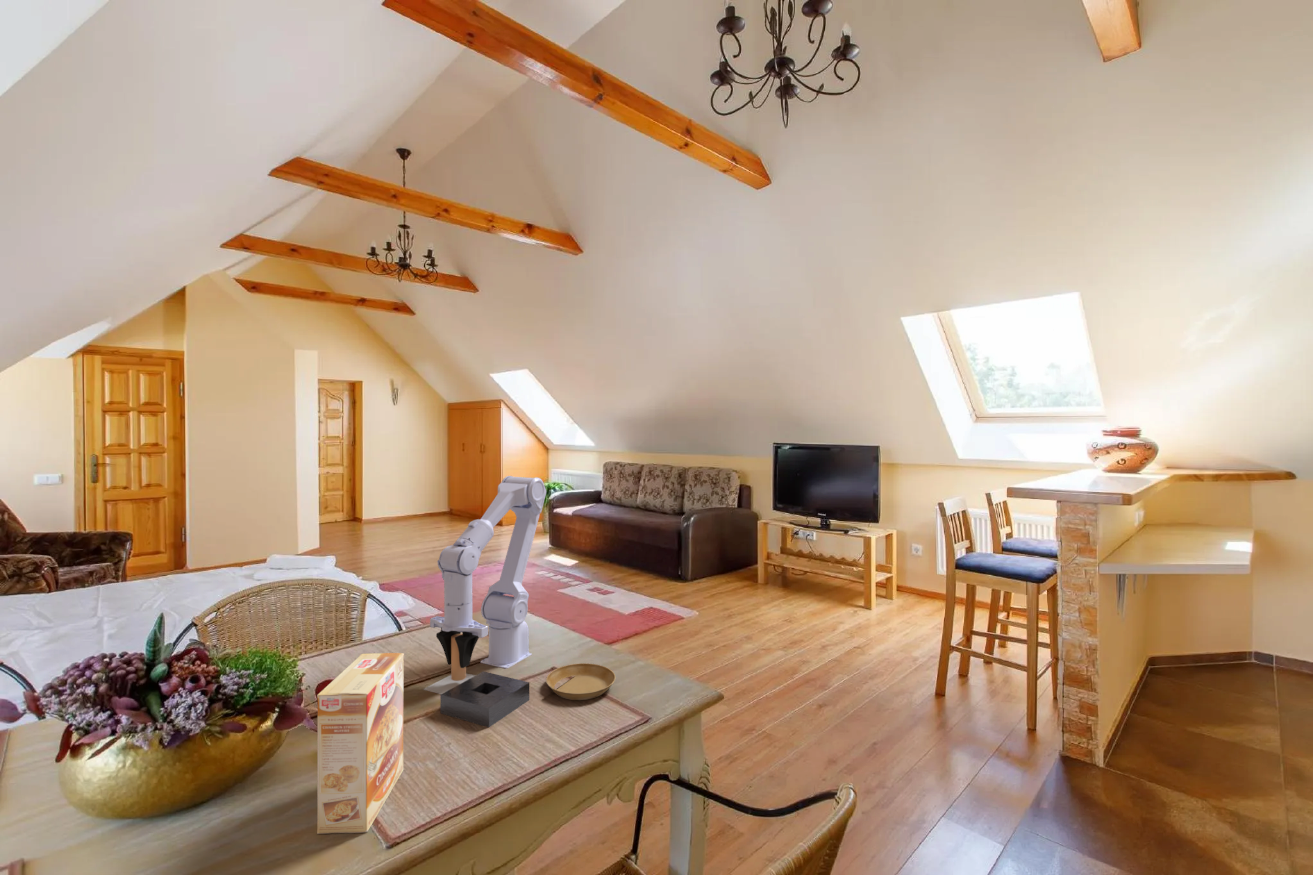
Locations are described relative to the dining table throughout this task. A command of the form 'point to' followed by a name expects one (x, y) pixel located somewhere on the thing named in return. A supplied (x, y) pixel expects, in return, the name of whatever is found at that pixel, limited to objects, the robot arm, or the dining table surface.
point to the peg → (456, 662)
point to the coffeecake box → (359, 742)
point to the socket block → (484, 698)
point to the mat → (446, 684)
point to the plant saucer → (581, 681)
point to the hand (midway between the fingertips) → (458, 664)
